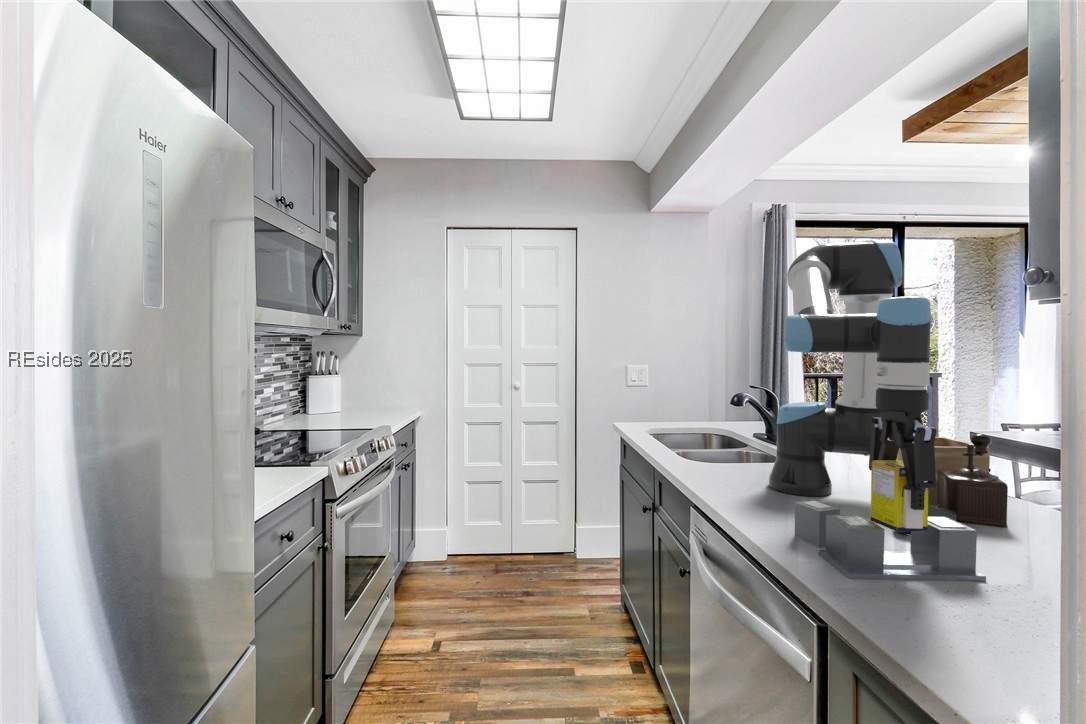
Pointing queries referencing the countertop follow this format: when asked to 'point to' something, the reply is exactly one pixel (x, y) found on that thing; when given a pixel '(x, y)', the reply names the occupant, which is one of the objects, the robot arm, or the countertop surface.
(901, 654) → the countertop surface
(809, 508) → the module
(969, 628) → the countertop surface
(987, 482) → the manual coffee grinder
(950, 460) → the bottle crate
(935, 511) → the black sponge
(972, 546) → the rail panel
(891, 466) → the supplement box
